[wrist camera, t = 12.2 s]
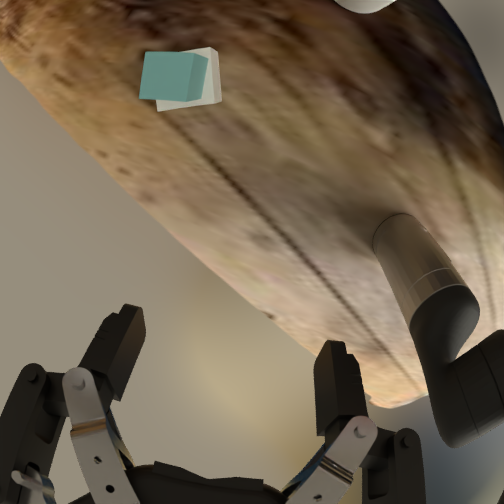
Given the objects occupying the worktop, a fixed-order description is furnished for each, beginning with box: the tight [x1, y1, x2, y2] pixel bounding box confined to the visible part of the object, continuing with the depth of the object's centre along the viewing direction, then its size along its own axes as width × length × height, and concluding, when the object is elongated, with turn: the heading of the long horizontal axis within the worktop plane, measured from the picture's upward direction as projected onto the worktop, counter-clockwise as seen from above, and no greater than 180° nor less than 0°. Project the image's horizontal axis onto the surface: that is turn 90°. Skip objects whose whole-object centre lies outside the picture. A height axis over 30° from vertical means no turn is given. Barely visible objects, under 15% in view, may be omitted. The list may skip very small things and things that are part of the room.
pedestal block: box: [156, 47, 222, 112], centre depth 29 cm, size 7×7×5 cm
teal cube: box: [139, 52, 209, 102], centre depth 24 cm, size 5×5×6 cm
